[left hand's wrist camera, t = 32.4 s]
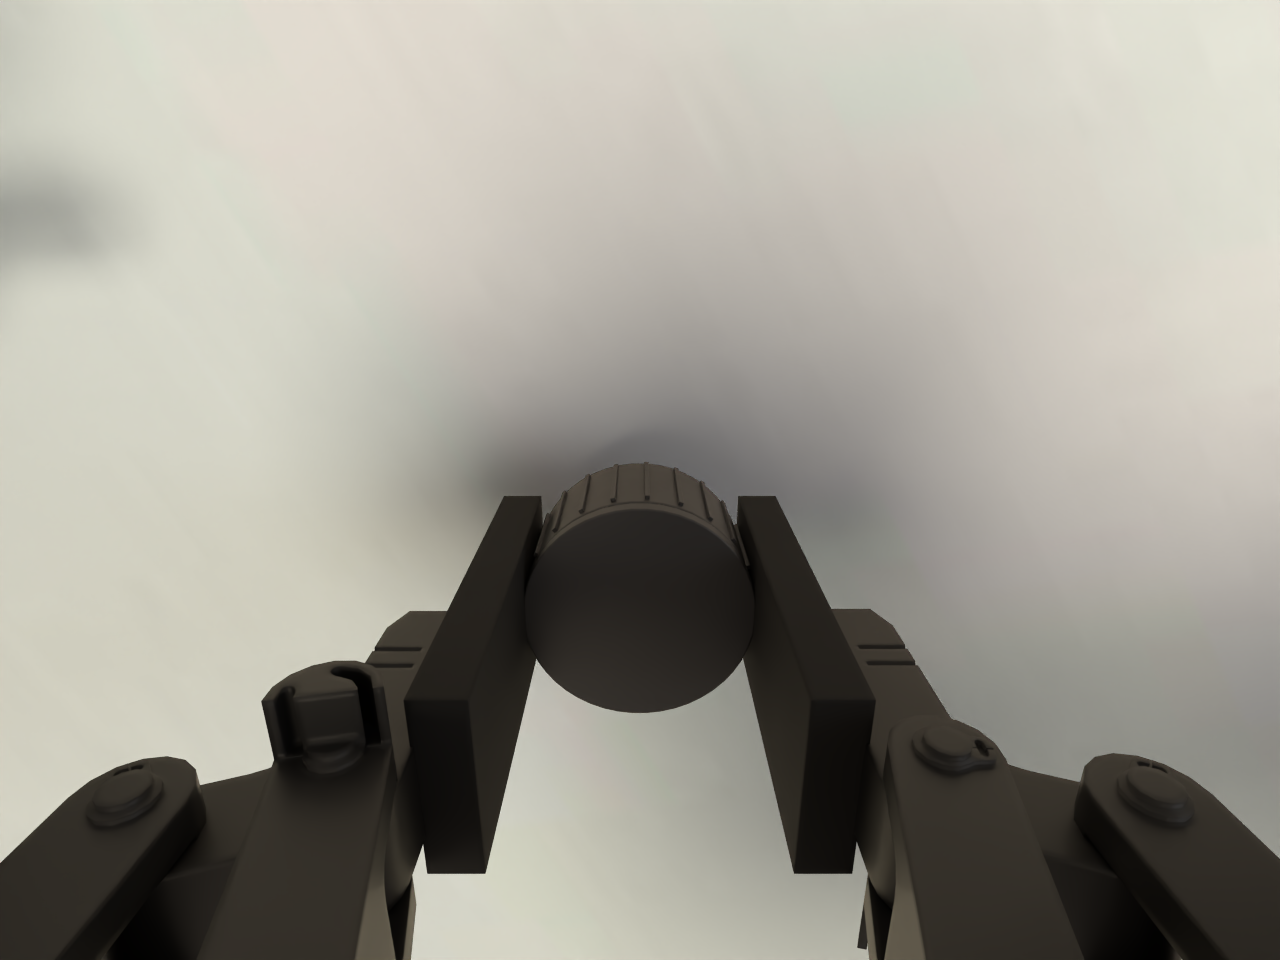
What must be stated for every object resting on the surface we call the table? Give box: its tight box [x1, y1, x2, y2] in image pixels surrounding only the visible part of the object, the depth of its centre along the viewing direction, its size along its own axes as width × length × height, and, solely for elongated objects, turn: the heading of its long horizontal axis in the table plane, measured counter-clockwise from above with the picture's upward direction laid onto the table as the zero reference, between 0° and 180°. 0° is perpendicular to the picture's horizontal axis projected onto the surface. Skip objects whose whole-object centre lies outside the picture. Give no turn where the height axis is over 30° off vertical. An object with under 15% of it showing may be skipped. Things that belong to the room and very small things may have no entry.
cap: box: [524, 462, 755, 713], centre depth 13 cm, size 4×4×2 cm
